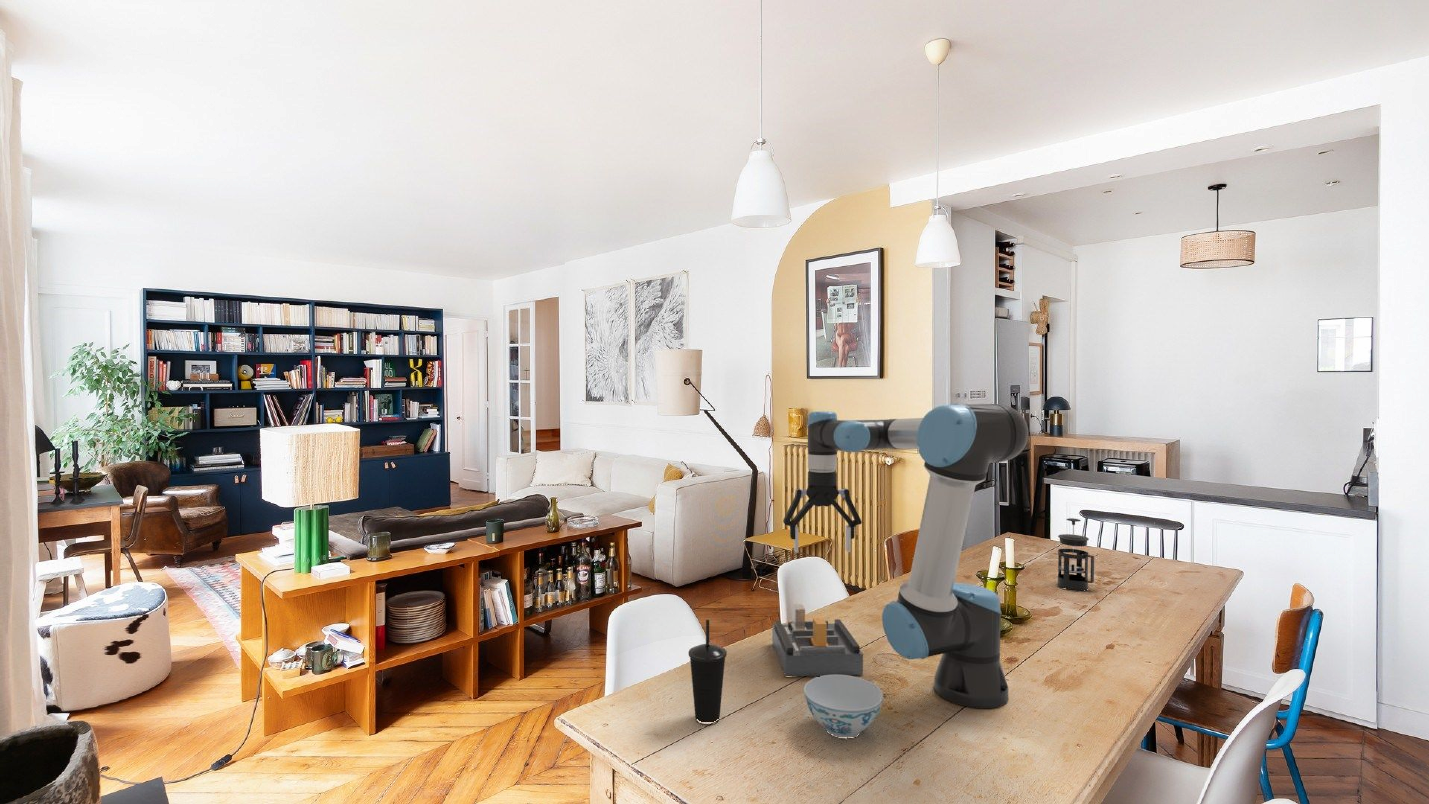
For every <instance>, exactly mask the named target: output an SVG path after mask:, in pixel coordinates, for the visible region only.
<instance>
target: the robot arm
mask: <svg viewBox="0 0 1429 804" xmlns="http://www.w3.org/2000/svg"><path fill="white" fill-rule="evenodd" d="M837 414H838V413H836V412H834V411H824V410H821V411H811V412H809V414H808V415H807V416H808V418H807V426H806V428H807V469H808V472H807V488H806V489H800V488H796V489H795V495H794V498H793V500H792V501H791V503H790V506H789V508H788V510H787V512H786V514H785V516H784V517H783V521H782V522H783V524H784V525H785V526H788V527H789V537H790V539H791V540H793V551H794V553H795V554H798V553H799V528H800V527H798V525H799V523H800V522H801V521H802V519H804V517H805V516H806V514H808V512H809V511H810V509H812V508H813V507H814V506H815V507H830V506H832V507H833V508H834V509H835V510H836V512H837V513H839V514H840V516H841V517H842V518H843V519H844V521H845V522H846V523H847V524H846V525H845V538H844V539H845V543H844V544H845V551H846V552H847V553H851V550H852V549H851V548H852V547H851V545H852V544H851V542H852V541H851V540H854V539H855V533H856V532H855V528H856V526H859V525H862V524H863V523H862V522H863V521H862V518H861V517H860V516H859V513H858V511H857V508H856V507H855V505H854V503H853V501H852V499H851V495H850V490H849V489H848V488H846V487H844V488H842V489H838V473H837V471H836V470H837V469H838V451H844V452H847V453H859V452H861V451H867V450H868V451H870V450H871V451H872V450H918V454H919V455H920V457H921V459H922V460H923V461H924V463H923V464H924V465H923V468H925V470H926V471H927V473H928V474H929V479H928V480H929V481H928V484H927V489H926V495H925V499H924V504H923V505H924V506H923V510H922V513H921V514H922V515H921V519H920V524H919V530H918V533H917V534H918V535H917V540H916V545H915V548H914V549H915V550H914V555H913V559H912V564H911V569H910V574H909V579H908V580H906V581H904V582H902V583H901V584H900V586H899V591H898V594H897V595H898V596H897V600H896V601H890V602H889V603H887V604H886V605H884V607H883V611H882V613H881V621H882V623H881V624H882V627H883V632H884V634H885V636H886V638H887V641H888V643H889V645H890V646H891V648H892V649H893V650H894V651H895V653H897V654H898V655H899V656H900V657H902V658H904V659H907V660H918V659H919V660H920V659H921V660H925V659H927V658H929V657H934V656H938V655H941V658H940V659H939V663H938V666H937V669H936V671H935V675H934V678H933V679H934V680H933V682H934V683H933V687H934V691H935V692H936V693H937V694H938V695H939V696H940V697H941V698H943V699H945V700H946V701H948V702H951V703H953V704H956V705H960V706H964V707H968V708H975V709H993V708H999V707H1001V706H1004V705H1005V704H1007V703H1008V701H1009V685H1008V682H1007V680H1006V675H1005V673H1004V670H1003V667H1002V664H1001V624H1002V623H1001V621H1002V619H1001V618H1002V611H1001V599H1000V597H999V595H998V594H997V593H996V592H995V591H993V590H990V589H989V588H986V587H984V586H983V587H982V586H979V585H975V584H969V583H963V582H955V579H956V575H957V571H958V566H959V561H960V558H961V552H962V547H963V545H964V544H963V543H964V540H965V535H966V530H967V527H968V521H969V516H970V512H971V507H972V502H973V499H974V493H975V491H976V490H975V489H976V486H977V485H979V484H980V483H983V482H984V481H985V480H986V479H987V474H988V471H989V466H990V464H994V463H1002V462H1007V461H1009V460H1013V459H1014V458H1016V457H1017V456H1018V455H1020V453H1022V452H1023V451H1024V449H1025V447H1026V446H1027V443H1028V441H1029V427H1028V424H1027V421H1026V419H1025V418H1024V416H1023V415H1022V414H1021V413H1020V412H1019V411H1017V410H1016V409H1014V408H1013V407H1011V406H1009V405H1006V404H1000V403H986V404H985V403H982V404H980V403H978V404H975V403H974V404H973V403H970V404H968V403H964V404H963V403H957V402H956V403H950V404H945V405H939V406H936V407H934V408H933V409H932V410H929V411H928V412H927V413H926V414H925V415H924V416H923V417H912V418H909V417H908V418H890V419H856V420H855V419H853V420H851V419H850V420H849V419H847V420H845V419H844V420H842V419H838V415H837ZM805 495H806V496H807V498H808V499H807V500H806V502H805V504H804V505H803V506H802V507H801V509H800V510H799V511H798V512H797V514H795V511H796V509H797V508H798V506H799V504H800V502H801V499H803V498H804V496H805ZM839 495H840V497H842V498H843V499H844V502H845V504H846V506H847V507H848V510H849V512H850V513H851V516H852V518H853V520H852V518H851V517H850V516H849V515H848V514H847V512H845V510H844V509H843V507H842V506H841V505H840V504H839V503H838V502H837V500H836V499H837V498H838V497H839ZM794 514H795V515H794ZM793 515H794V517H793ZM792 517H793V518H792Z"/></svg>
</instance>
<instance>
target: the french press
mask: <svg viewBox="0 0 1429 804" xmlns="http://www.w3.org/2000/svg"><path fill="white" fill-rule="evenodd" d="M1065 520H1066V521H1069V522H1071V525H1072V534H1067V533H1064V534H1058V536H1057V537H1058V538H1059V543H1060V544H1062V545H1065V546H1069V547H1070V546H1071V547H1072V548H1059V549H1058V550H1057V555H1058V557H1057V558H1058V562H1057V564H1058V565H1057V566H1058V568H1057V569H1058V571H1057V574H1058V575H1057V583H1056V586H1057V585H1058V586H1059V587H1060V588H1059V587H1058V586H1057V587H1058V588H1059V589H1061V588H1066V589H1069V590H1076V591H1075V592H1078V591H1082V592H1085V591H1084V590H1087V589H1088V588H1089V584H1093V583H1095V556H1094V555H1092V554H1089V552H1088V551H1085V550H1082V549H1077V548H1075V547H1086V546H1088V541H1089V537H1087V536H1085V535H1084V536H1083V535H1079V534H1075V525H1076V522H1081V519H1079V518H1073V517H1071V518H1070V517H1069V518H1065ZM1070 553H1071V554H1070ZM1062 558H1063V564H1062ZM1089 558H1090V580H1089V575H1088V574H1089ZM1070 559H1072V562H1071V563H1072V564H1071V565H1070ZM1074 560H1076V564H1074V562H1075V561H1074ZM1083 560H1084V567H1083ZM1062 572H1063V573H1062ZM1083 574H1084V576H1083ZM1089 589H1090V588H1089ZM1069 590H1068V591H1069Z"/></svg>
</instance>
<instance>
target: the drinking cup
mask: <svg viewBox="0 0 1429 804" xmlns="http://www.w3.org/2000/svg"><path fill="white" fill-rule="evenodd" d="M727 653H728V652H727V649H725V647H722V646H720V645H718V644H717V645H716V644H713V643H710V620H709V619H706V620H705V643H702V644H698V645H696V646H693V647H691V648H689V650H688V657H689V661H690V672H691V683H692V684H691V685H692V695H693V696H692V697H693V706H694V707H693V708H694V717H695V718H696V719H698V720H699V721H701V722H714V721H716V720H717V719H719V717H721V706H722V696H723V682H724V675H725V674H724V672H725V663H726V662H725V661H726V657H727ZM696 719H695V720H696ZM719 720H720V719H719Z"/></svg>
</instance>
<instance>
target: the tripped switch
mask: <svg viewBox="0 0 1429 804" xmlns="http://www.w3.org/2000/svg"><path fill="white" fill-rule="evenodd" d="M812 621H813V638H811V643H812V644H813V646H829V645H828V644H827V624H826V622H825V619H824V618H823V617H816V618H815V617H814V618H812Z"/></svg>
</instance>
